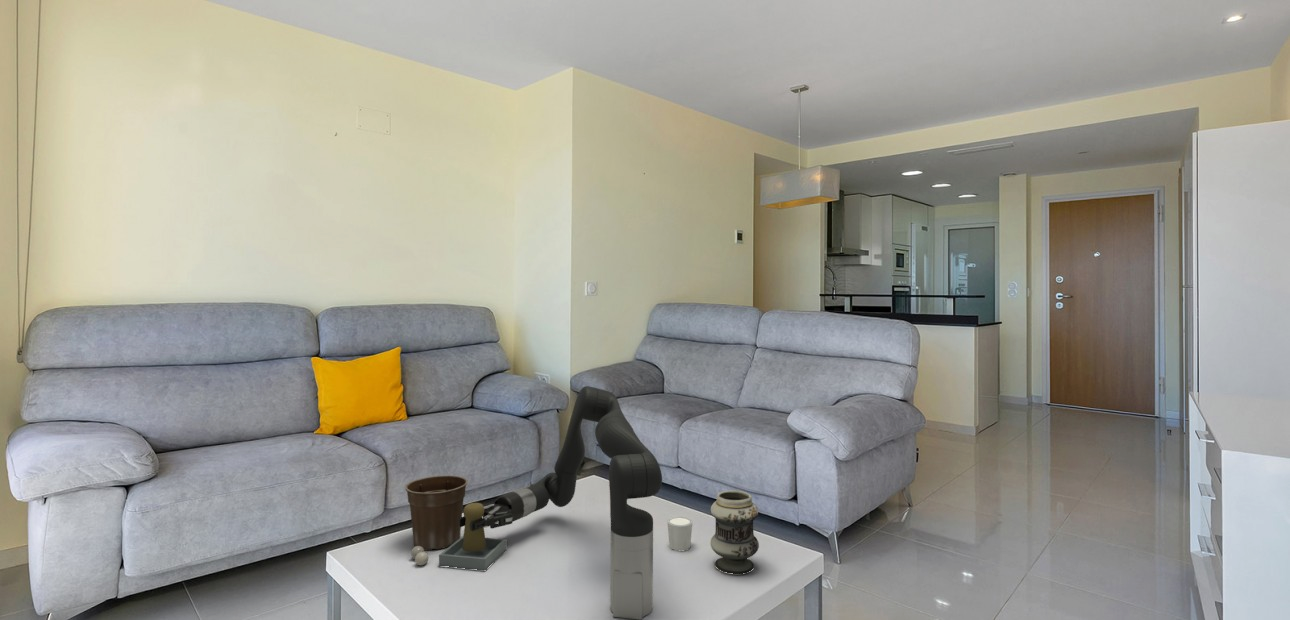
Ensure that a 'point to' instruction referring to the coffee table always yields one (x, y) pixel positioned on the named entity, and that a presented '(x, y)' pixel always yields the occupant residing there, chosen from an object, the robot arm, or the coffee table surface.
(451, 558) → the slate dish
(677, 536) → the white cup
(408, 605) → the coffee table surface
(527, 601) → the coffee table surface
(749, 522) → the apothecary jar
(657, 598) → the coffee table surface
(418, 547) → the pebble
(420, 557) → the pebble
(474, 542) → the cork
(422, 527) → the plant pot
